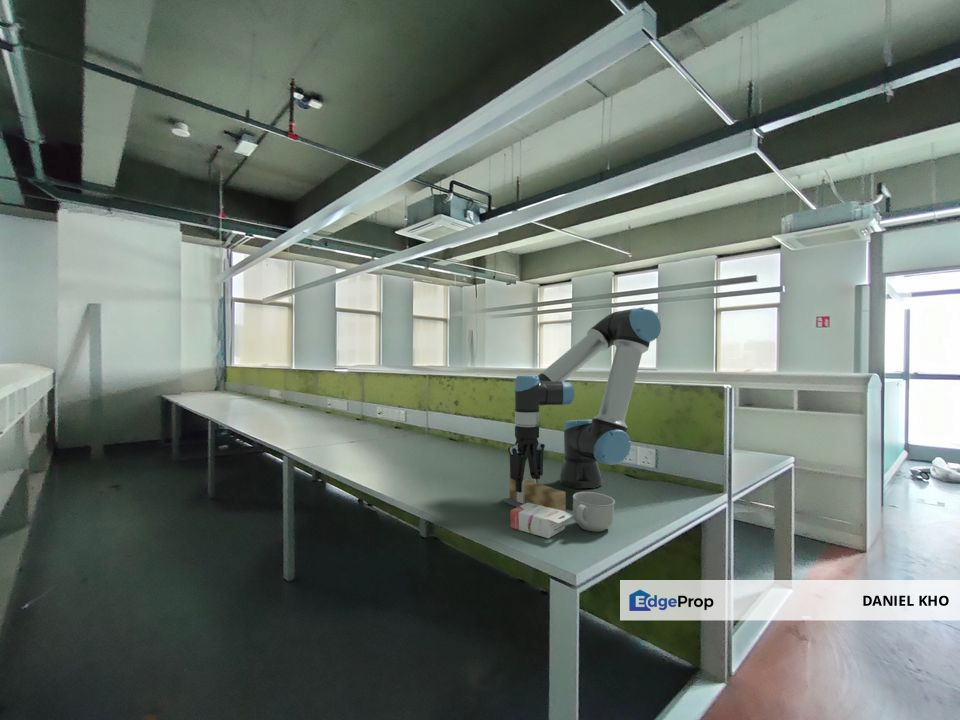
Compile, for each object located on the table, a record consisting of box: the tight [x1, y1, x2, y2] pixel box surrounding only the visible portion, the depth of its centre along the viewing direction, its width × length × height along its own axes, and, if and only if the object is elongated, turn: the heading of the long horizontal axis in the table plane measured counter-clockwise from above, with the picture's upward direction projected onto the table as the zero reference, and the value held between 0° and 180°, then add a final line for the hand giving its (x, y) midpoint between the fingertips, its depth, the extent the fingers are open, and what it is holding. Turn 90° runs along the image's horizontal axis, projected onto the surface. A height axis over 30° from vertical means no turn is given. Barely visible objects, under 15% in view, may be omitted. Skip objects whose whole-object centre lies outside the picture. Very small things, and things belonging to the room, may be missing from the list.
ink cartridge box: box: [509, 503, 574, 539], centre depth 109 cm, size 9×5×15 cm
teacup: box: [572, 491, 616, 533], centre depth 110 cm, size 14×11×8 cm
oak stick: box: [509, 477, 567, 512], centre depth 126 cm, size 20×4×6 cm, turn 36°
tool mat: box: [501, 496, 573, 517], centre depth 127 cm, size 9×22×1 cm, turn 36°
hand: (526, 500), depth 130 cm, fingers open, 4 cm apart
